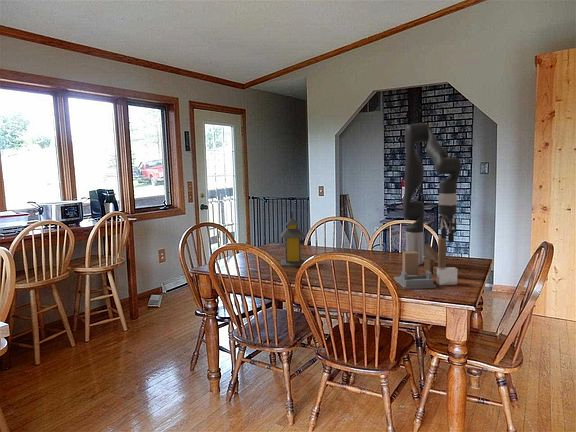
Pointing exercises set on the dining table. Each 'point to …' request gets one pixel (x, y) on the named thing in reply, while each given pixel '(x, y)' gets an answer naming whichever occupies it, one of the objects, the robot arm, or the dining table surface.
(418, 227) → the robot arm
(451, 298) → the dining table surface
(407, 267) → the post footing
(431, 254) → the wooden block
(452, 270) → the pale grey block
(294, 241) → the lantern
